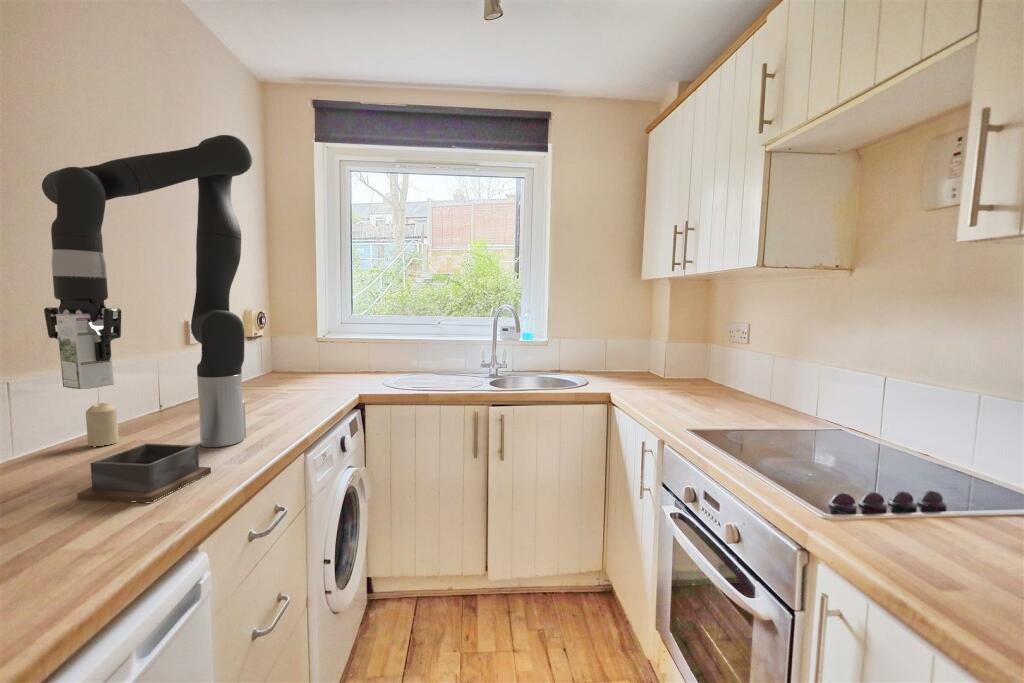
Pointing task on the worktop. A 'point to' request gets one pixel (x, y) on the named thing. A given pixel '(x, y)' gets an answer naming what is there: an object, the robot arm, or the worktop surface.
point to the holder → (143, 473)
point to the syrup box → (81, 354)
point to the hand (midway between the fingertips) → (86, 360)
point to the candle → (102, 425)
